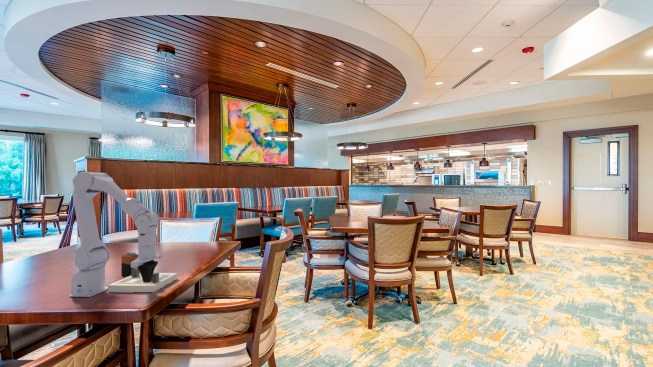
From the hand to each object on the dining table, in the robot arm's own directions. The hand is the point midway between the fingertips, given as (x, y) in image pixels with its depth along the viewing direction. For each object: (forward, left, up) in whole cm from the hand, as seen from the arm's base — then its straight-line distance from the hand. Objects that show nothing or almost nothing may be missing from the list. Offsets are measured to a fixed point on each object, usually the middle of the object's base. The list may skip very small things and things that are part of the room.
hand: (147, 282), depth 109 cm
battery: (+20, +21, -4) cm, 29 cm away
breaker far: (+11, +12, -1) cm, 16 cm away
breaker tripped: (+5, 0, -1) cm, 5 cm away
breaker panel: (+8, +6, -4) cm, 10 cm away
